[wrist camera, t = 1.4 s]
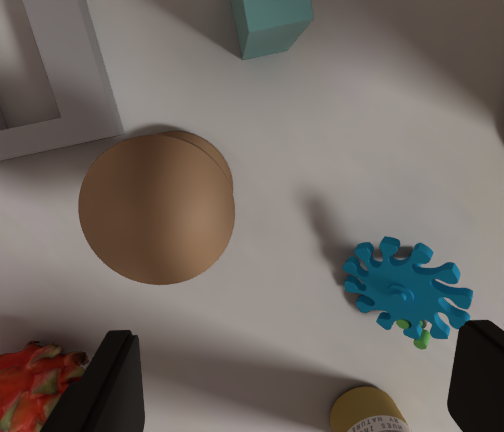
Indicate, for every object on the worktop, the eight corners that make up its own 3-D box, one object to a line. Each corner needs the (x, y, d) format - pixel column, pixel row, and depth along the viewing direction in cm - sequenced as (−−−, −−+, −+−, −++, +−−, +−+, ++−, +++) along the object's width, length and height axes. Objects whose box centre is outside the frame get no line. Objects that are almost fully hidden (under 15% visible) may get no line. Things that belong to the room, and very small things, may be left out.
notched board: (83, -6, 26) (72, -16, 24) (124, 134, 29) (117, 135, 27) (-82, 29, 26) (-106, 21, 24) (-26, 166, 29) (-44, 169, 27)
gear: (324, 244, 30) (459, 251, 24) (353, 207, 34) (476, 204, 27) (358, 339, 35) (480, 369, 28) (380, 298, 38) (492, 315, 32)
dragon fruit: (121, 337, 35) (22, 375, 37) (49, 307, 28) (-65, 356, 31) (118, 438, 30) (3, 475, 32) (29, 430, 23) (-107, 478, 25)
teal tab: (274, -22, 27) (297, -91, 18) (287, 50, 28) (313, 18, 19) (228, -12, 27) (228, -77, 18) (242, 60, 28) (249, 32, 19)
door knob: (219, 120, 29) (215, 119, 20) (242, 227, 31) (248, 267, 23) (107, 144, 29) (56, 154, 20) (139, 249, 31) (105, 298, 23)
